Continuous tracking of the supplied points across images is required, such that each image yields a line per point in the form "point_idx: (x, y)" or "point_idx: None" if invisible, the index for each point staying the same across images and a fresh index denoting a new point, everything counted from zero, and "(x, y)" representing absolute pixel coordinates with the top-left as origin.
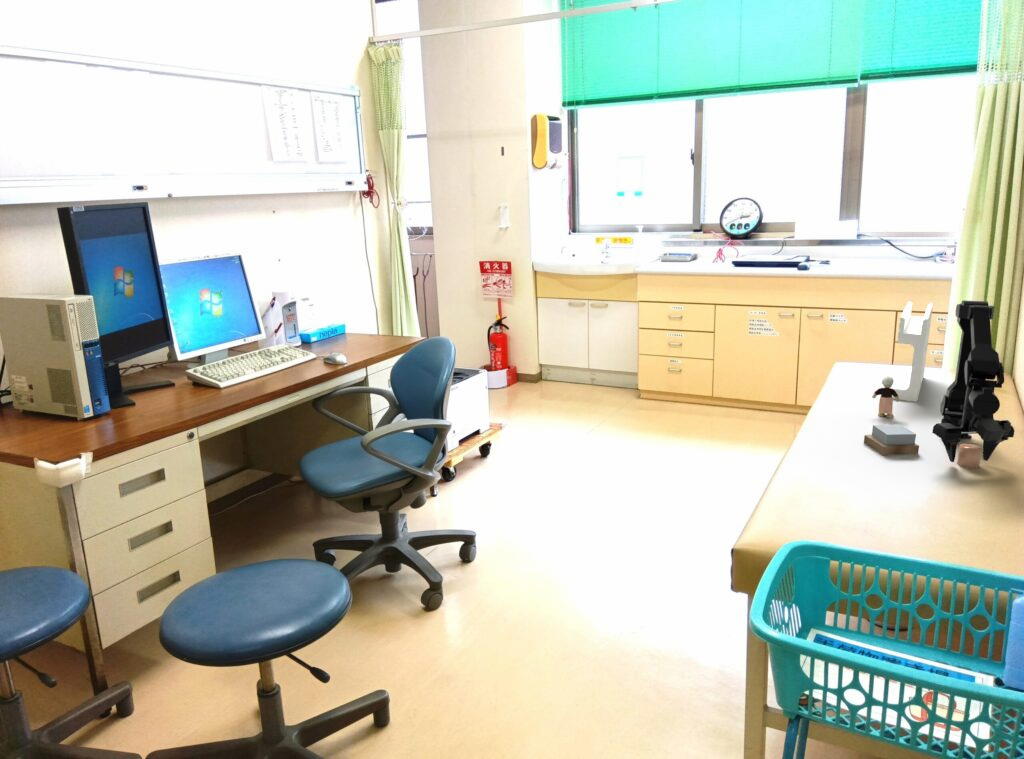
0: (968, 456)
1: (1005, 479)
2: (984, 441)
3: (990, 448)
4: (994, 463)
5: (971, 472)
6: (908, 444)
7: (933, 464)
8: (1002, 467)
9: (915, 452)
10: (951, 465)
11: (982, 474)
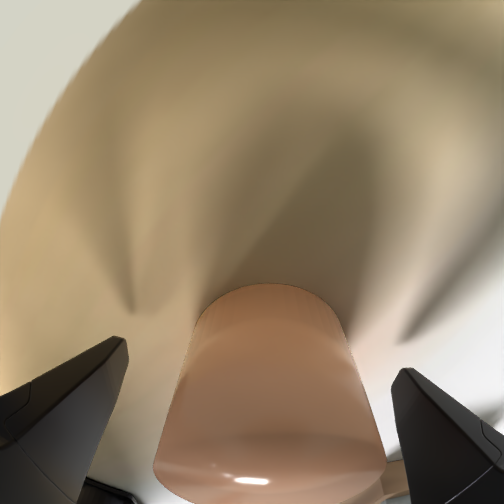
0: (355, 381)
1: (219, 4)
2: (73, 488)
3: (55, 410)
4: (69, 314)
5: (384, 215)
6: (408, 495)
7: (451, 376)
8: (55, 242)
9: (388, 468)
10: (387, 358)
11: (332, 145)
